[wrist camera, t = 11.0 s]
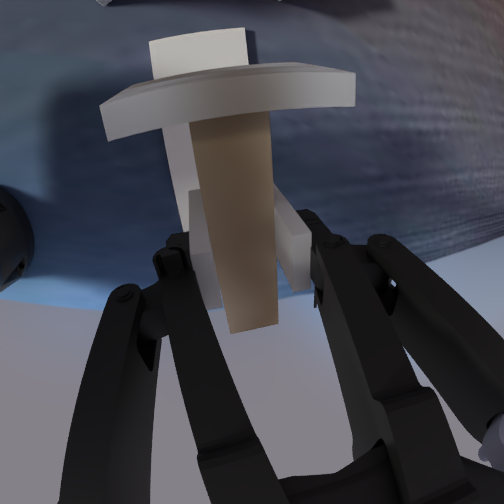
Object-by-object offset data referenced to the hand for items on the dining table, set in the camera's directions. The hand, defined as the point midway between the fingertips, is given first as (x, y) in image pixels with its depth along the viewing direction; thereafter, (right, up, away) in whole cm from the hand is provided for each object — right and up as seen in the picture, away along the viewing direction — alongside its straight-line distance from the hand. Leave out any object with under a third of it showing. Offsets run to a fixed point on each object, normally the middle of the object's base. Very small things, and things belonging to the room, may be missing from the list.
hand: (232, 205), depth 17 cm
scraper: (0, 0, 0) cm, 0 cm away
